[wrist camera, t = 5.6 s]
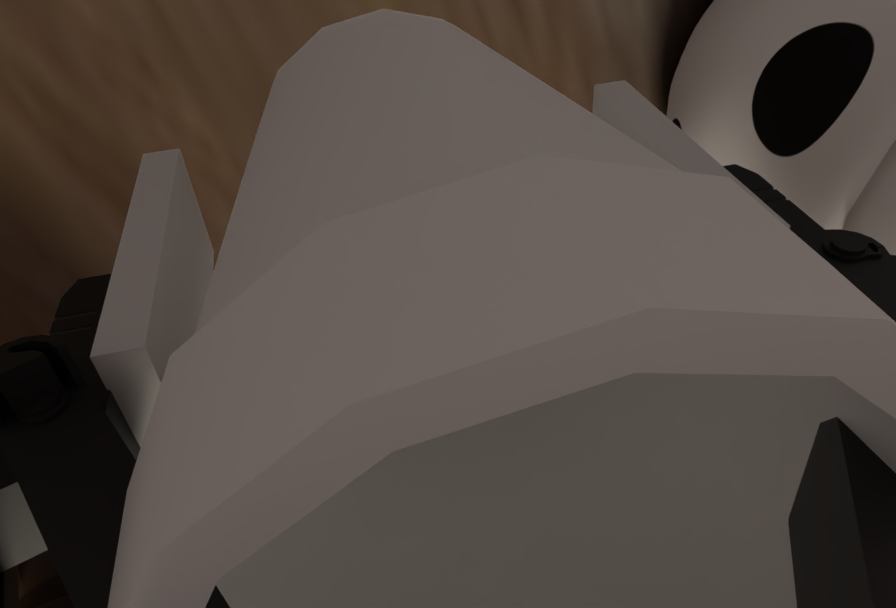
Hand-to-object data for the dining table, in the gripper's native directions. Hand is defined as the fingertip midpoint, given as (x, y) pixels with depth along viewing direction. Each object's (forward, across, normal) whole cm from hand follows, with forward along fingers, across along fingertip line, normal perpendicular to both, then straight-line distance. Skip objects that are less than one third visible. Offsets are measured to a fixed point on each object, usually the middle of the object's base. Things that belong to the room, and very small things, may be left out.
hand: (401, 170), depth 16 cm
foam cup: (+2, 0, 0) cm, 2 cm away
